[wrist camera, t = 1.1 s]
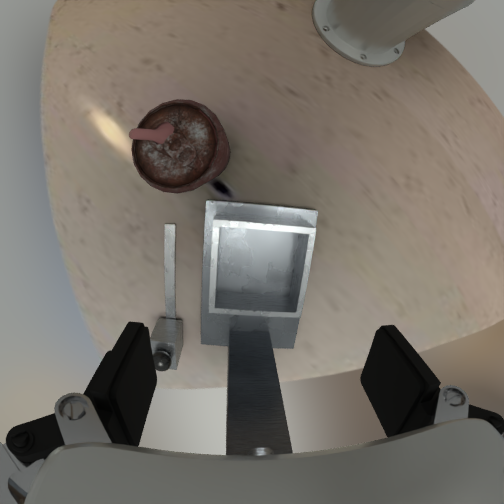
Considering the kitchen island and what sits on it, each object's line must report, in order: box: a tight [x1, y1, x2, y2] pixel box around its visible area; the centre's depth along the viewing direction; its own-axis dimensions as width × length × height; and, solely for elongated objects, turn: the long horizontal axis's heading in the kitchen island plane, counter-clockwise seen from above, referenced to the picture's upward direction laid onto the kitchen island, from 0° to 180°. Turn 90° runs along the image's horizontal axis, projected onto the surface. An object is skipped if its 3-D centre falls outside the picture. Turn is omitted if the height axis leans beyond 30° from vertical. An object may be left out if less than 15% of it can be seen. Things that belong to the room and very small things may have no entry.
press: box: [164, 199, 318, 456], centre depth 21 cm, size 19×17×25 cm
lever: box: [150, 318, 183, 371], centre depth 31 cm, size 4×3×7 cm
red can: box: [129, 100, 230, 193], centre depth 22 cm, size 6×6×14 cm
